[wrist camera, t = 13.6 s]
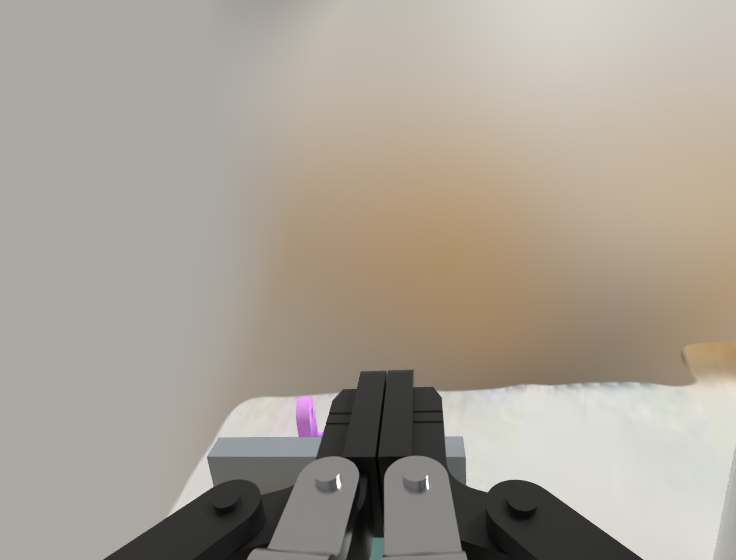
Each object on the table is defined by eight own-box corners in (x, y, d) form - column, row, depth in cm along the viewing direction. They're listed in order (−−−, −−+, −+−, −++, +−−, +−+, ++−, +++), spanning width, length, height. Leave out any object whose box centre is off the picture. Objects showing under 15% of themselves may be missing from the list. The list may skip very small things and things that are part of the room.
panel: (462, 557, 39) (459, 410, 34) (468, 618, 34) (465, 456, 29) (262, 552, 41) (234, 412, 36) (241, 608, 36) (206, 456, 32)
